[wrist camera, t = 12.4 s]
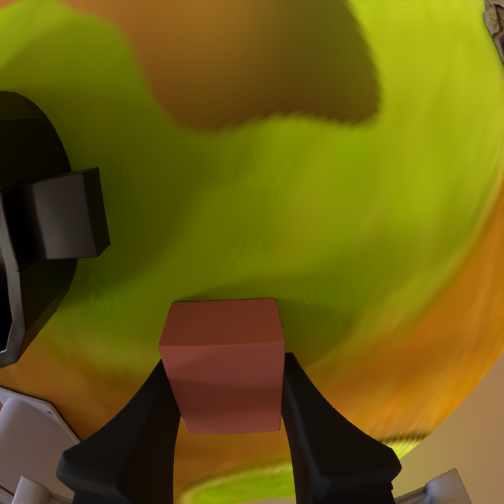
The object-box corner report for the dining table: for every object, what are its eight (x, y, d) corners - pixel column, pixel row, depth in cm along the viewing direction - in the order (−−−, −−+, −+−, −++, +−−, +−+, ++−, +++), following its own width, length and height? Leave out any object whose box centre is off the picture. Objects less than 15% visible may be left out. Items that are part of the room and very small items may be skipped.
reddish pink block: (274, 387, 15) (280, 431, 12) (192, 390, 15) (187, 434, 12) (275, 296, 12) (285, 342, 10) (171, 301, 12) (157, 346, 9)
